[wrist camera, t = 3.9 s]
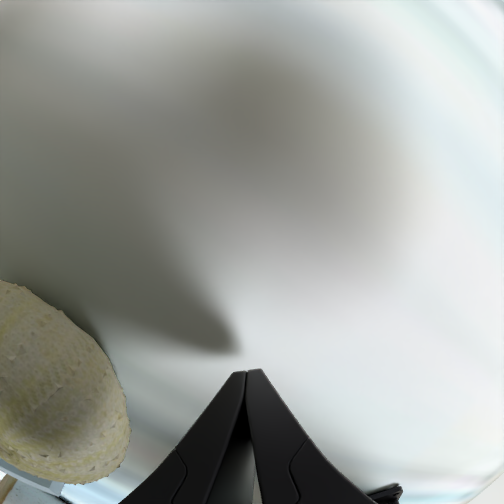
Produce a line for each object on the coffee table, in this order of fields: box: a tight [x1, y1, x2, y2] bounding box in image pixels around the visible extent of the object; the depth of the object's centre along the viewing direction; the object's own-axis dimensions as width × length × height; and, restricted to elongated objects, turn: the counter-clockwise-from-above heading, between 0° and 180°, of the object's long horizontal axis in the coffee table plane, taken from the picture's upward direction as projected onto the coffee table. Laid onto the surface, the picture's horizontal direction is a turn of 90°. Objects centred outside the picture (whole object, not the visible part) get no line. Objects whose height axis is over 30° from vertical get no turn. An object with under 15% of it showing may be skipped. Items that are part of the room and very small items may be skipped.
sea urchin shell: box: [0, 280, 131, 485], centre depth 8 cm, size 9×8×8 cm
